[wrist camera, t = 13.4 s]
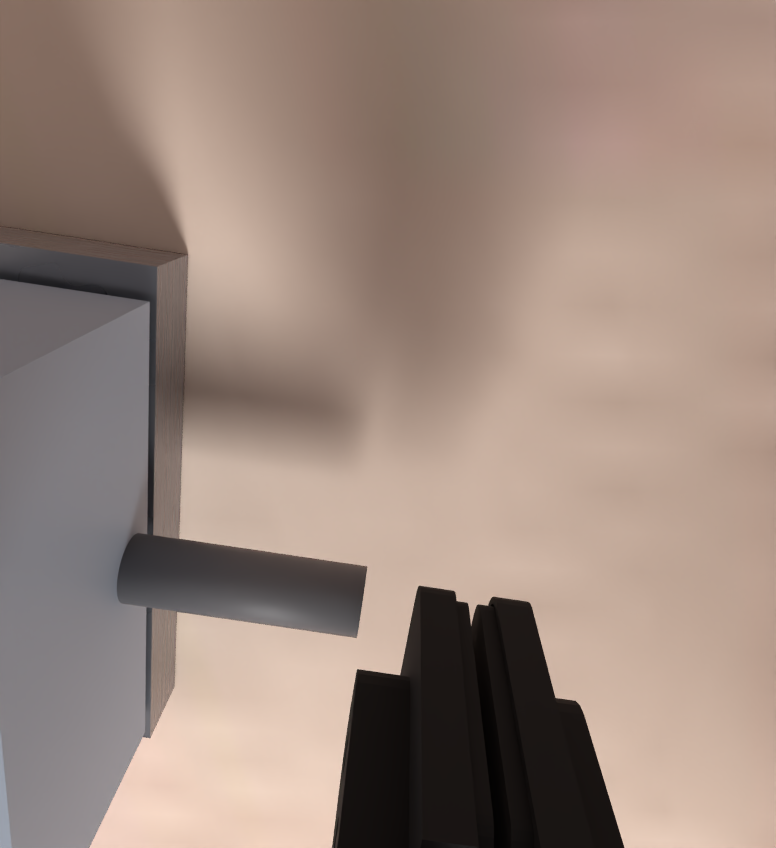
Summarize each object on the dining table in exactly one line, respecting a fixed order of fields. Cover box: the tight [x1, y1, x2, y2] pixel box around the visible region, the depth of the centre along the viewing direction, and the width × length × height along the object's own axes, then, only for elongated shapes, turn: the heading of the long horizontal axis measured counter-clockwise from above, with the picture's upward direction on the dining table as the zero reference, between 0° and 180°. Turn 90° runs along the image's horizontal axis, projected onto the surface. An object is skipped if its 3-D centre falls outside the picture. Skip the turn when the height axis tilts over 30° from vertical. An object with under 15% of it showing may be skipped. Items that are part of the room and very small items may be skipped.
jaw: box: [0, 279, 367, 848], centre depth 10 cm, size 7×9×4 cm
